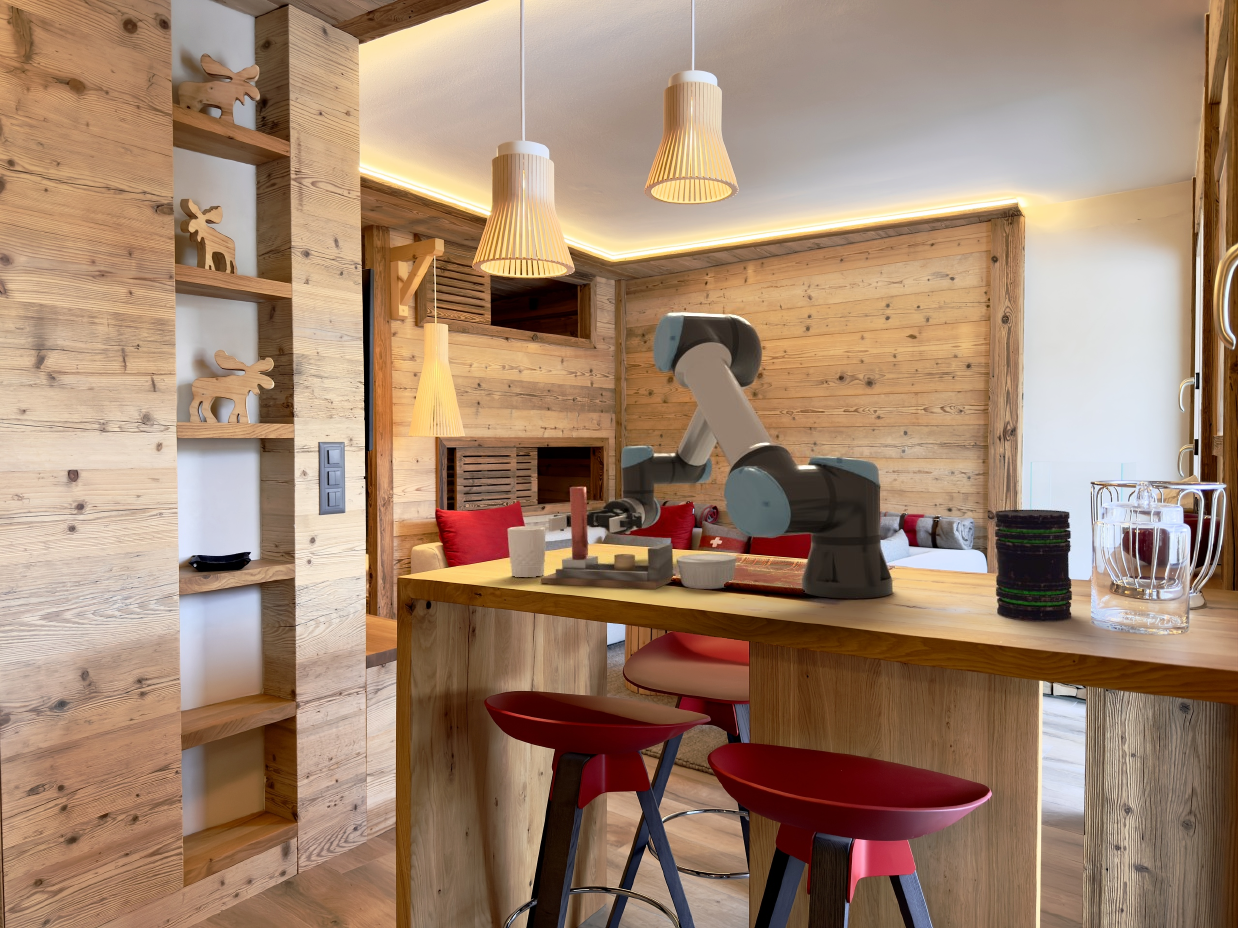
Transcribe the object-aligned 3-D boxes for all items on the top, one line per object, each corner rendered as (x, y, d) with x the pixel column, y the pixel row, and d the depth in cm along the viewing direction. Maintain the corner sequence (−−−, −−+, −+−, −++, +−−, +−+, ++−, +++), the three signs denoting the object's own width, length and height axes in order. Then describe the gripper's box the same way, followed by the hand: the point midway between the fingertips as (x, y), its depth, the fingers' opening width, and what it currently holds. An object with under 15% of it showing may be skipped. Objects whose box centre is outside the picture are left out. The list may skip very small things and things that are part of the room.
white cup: (550, 572, 171) (548, 525, 171) (542, 578, 164) (541, 529, 163) (513, 573, 172) (512, 526, 172) (504, 578, 164) (503, 530, 164)
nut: (635, 577, 154) (635, 556, 154) (614, 577, 154) (614, 556, 154) (635, 574, 158) (635, 553, 158) (614, 574, 158) (614, 554, 158)
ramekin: (676, 590, 146) (675, 561, 146) (678, 580, 157) (677, 553, 157) (738, 590, 145) (737, 560, 144) (736, 580, 156) (735, 552, 156)
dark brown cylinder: (1089, 617, 114) (1087, 512, 114) (1036, 624, 111) (1034, 516, 111) (1030, 605, 124) (1028, 508, 123) (981, 611, 120) (978, 511, 120)
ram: (598, 571, 161) (595, 486, 161) (585, 575, 156) (582, 488, 156) (576, 570, 163) (573, 486, 163) (562, 574, 158) (559, 488, 158)
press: (675, 579, 158) (674, 542, 157) (656, 588, 147) (654, 549, 147) (566, 575, 167) (565, 540, 167) (540, 583, 157) (539, 546, 157)
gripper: (675, 533, 175) (638, 545, 156) (573, 531, 185) (526, 542, 166) (674, 499, 175) (637, 506, 156) (572, 499, 185) (525, 506, 166)
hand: (580, 525), depth 161 cm, fingers open, 13 cm apart
